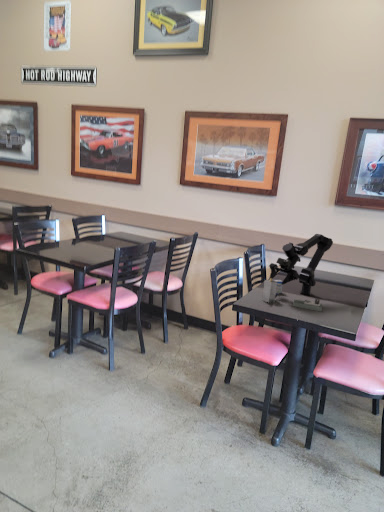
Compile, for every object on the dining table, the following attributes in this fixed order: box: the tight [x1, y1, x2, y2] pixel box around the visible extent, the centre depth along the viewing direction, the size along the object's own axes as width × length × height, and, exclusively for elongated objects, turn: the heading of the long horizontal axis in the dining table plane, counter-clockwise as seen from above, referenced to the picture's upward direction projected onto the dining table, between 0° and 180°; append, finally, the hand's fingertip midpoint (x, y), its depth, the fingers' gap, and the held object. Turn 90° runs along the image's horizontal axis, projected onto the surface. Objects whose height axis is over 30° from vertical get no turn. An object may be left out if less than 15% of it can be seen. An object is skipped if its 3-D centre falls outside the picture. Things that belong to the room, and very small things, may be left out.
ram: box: [304, 298, 321, 307], centre depth 205 cm, size 4×8×5 cm, turn 70°
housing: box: [261, 277, 277, 304], centre depth 212 cm, size 5×5×14 cm
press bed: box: [292, 299, 323, 312], centre depth 212 cm, size 17×25×3 cm
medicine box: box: [272, 279, 284, 296], centre depth 227 cm, size 8×4×9 cm, turn 105°
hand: (275, 282), depth 214 cm, fingers open, 9 cm apart
